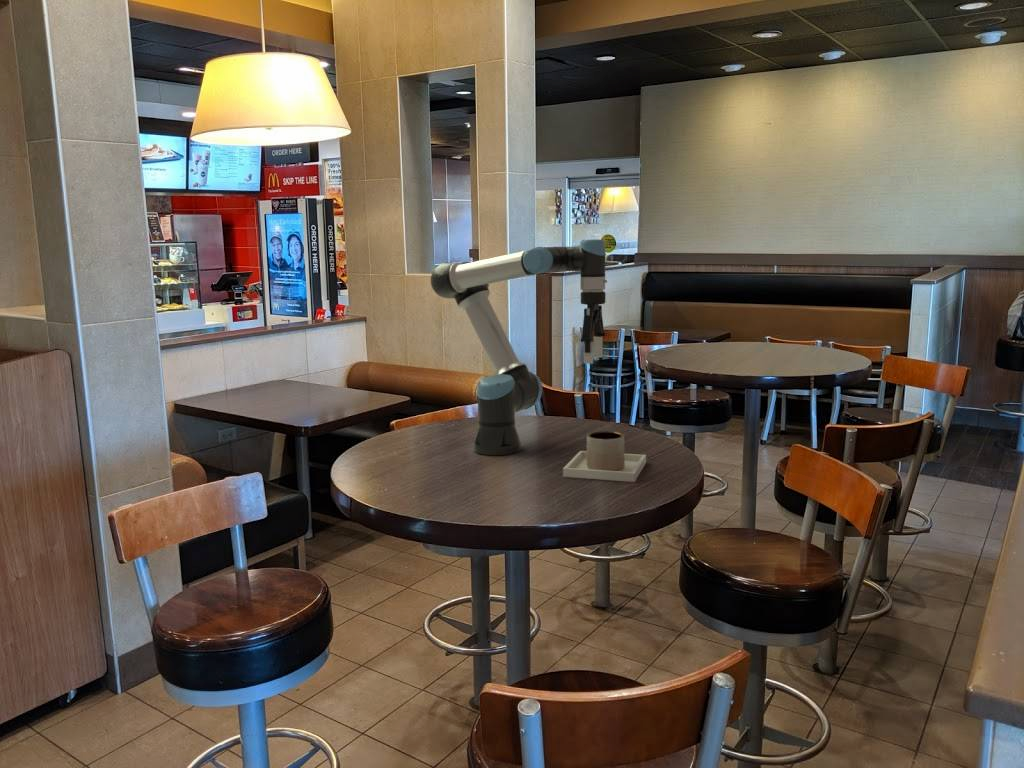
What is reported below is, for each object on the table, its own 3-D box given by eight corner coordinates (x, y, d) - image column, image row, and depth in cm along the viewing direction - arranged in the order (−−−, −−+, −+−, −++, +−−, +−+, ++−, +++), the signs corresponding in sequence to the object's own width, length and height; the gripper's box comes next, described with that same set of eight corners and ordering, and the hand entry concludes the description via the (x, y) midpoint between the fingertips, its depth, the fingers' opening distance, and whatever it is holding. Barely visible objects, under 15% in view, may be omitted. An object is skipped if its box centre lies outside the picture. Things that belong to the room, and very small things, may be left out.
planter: (580, 470, 223) (580, 437, 221) (594, 460, 232) (594, 429, 231) (617, 474, 218) (617, 441, 216) (629, 464, 227) (629, 432, 226)
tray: (563, 476, 219) (562, 468, 219) (580, 458, 238) (579, 450, 237) (634, 482, 213) (634, 473, 212) (646, 462, 231) (646, 454, 231)
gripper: (596, 293, 225) (596, 366, 229) (613, 288, 248) (613, 355, 252) (570, 293, 228) (571, 365, 231) (590, 288, 251) (590, 354, 254)
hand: (593, 360), depth 242 cm, fingers open, 13 cm apart
